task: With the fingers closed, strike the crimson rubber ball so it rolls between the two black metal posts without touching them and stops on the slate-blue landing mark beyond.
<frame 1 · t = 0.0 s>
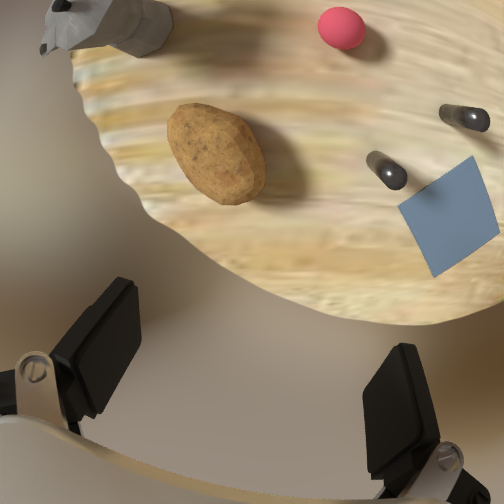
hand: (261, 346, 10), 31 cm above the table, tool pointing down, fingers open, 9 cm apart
post 2: (447, 113, 30), on the table
potato: (224, 146, 38), on the table
landing mark: (454, 219, 37), on the table
coffeepot: (150, 23, 30), on the table
ball: (341, 28, 26), on the table
post 1: (375, 160, 35), on the table
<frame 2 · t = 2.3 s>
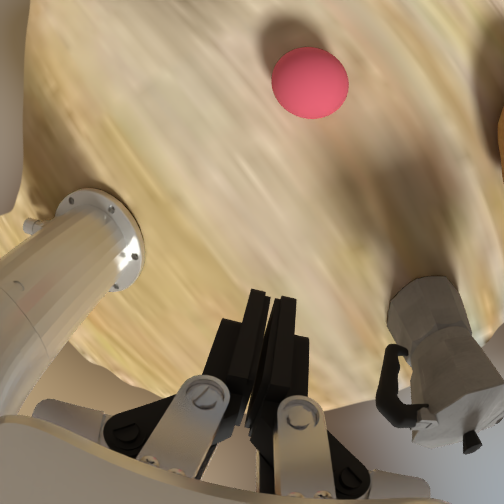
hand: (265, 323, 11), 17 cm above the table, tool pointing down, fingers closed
coffeepot: (415, 305, 29), on the table
ball: (310, 82, 19), on the table
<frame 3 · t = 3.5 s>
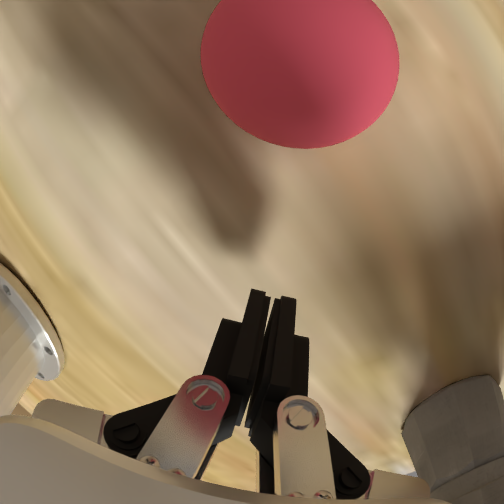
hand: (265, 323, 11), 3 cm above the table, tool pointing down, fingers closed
coffeepot: (442, 407, 18), on the table
ball: (300, 56, 7), on the table
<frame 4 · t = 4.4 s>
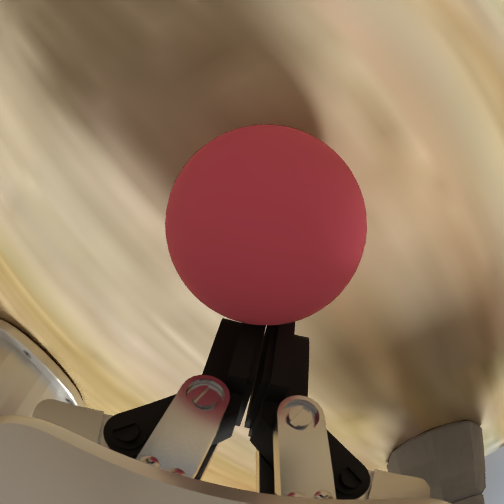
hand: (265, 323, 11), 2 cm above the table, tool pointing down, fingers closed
coffeepot: (425, 445, 19), on the table
ball: (266, 224, 8), on the table, touching gripper
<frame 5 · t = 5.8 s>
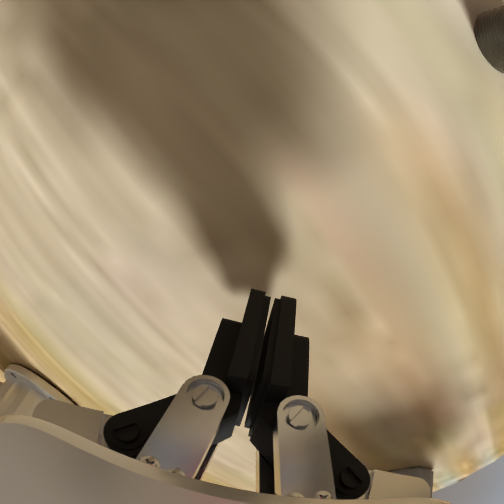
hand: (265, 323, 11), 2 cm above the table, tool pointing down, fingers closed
coffeepot: (383, 480, 22), on the table
post 1: (500, 42, 6), on the table
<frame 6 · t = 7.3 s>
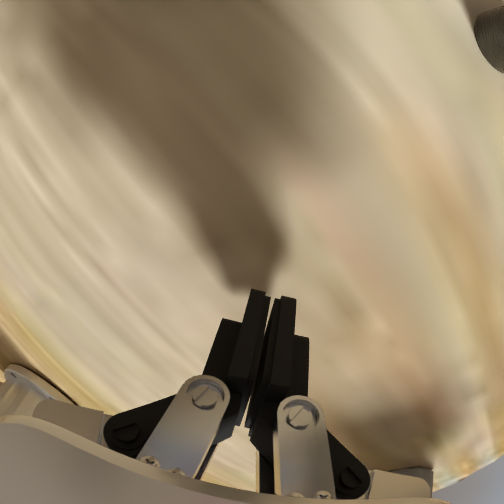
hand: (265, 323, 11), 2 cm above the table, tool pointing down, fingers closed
coffeepot: (383, 480, 22), on the table
post 1: (500, 42, 6), on the table
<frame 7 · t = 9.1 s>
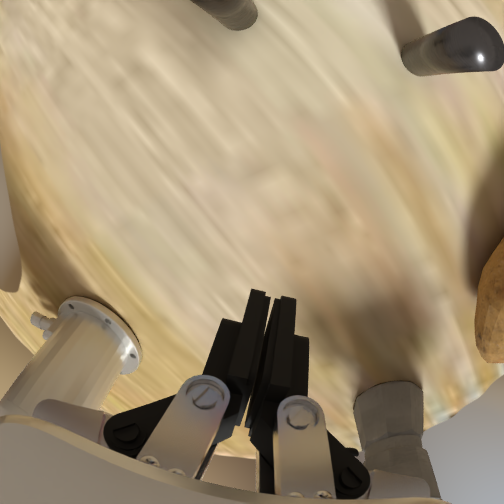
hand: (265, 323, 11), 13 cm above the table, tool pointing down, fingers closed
post 2: (238, 14, 16), on the table
potato: (502, 264, 21), on the table
coffeepot: (380, 398, 32), on the table
post 1: (418, 59, 15), on the table
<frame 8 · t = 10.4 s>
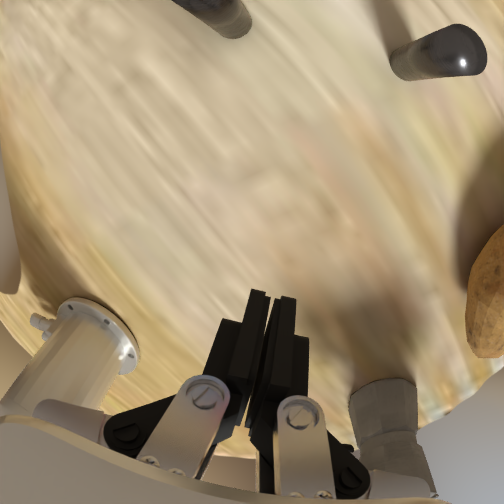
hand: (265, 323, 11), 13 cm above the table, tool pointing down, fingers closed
post 2: (233, 23, 17), on the table
potato: (491, 262, 22), on the table
coffeepot: (375, 396, 33), on the table
post 1: (406, 64, 16), on the table
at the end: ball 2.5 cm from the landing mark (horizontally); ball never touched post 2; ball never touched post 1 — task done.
